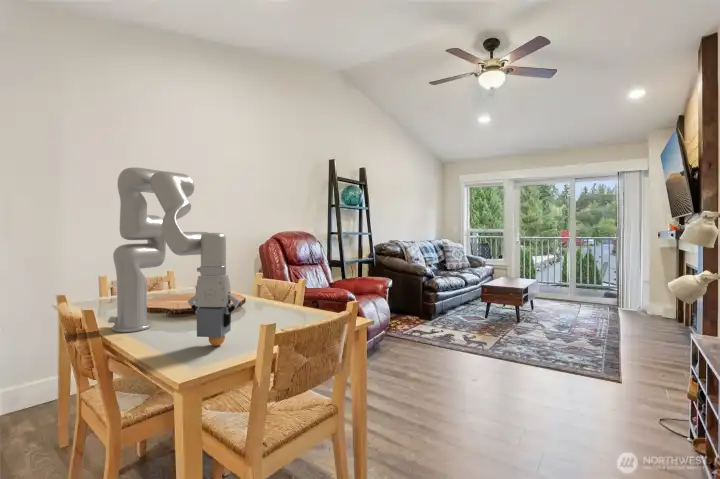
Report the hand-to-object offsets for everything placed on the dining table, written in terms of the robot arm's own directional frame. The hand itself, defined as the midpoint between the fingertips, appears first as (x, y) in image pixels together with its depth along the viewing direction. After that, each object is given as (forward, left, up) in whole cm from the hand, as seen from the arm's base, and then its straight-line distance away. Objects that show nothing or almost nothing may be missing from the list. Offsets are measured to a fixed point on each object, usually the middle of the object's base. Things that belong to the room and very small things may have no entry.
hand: (214, 325), depth 123 cm
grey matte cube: (0, 0, -3) cm, 3 cm away
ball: (0, +1, -4) cm, 5 cm away
